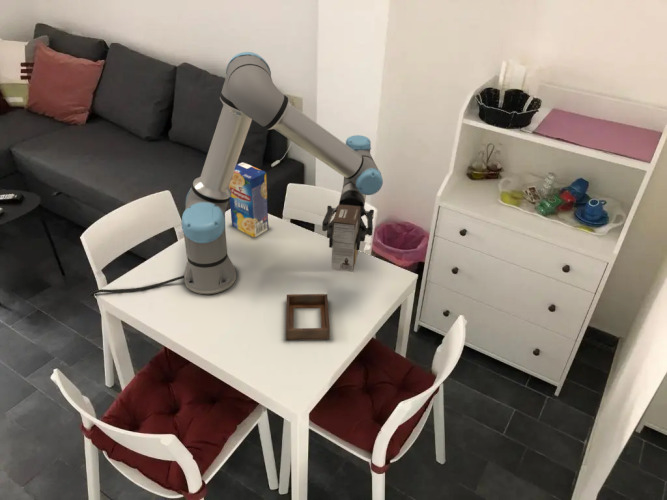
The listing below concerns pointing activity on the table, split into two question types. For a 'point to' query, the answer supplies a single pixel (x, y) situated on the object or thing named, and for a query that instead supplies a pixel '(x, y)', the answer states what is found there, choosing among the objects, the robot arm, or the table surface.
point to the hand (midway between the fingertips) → (344, 244)
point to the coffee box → (345, 237)
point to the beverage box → (249, 199)
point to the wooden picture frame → (307, 302)
